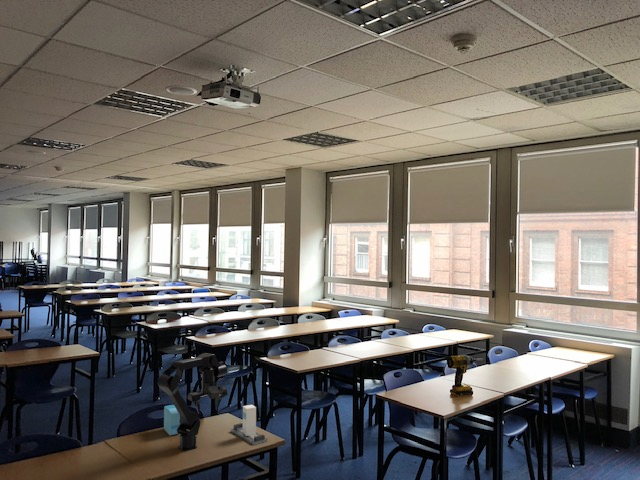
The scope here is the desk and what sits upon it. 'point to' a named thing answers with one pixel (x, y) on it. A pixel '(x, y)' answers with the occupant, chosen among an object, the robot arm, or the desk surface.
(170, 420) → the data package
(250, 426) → the block
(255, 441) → the mounting plate
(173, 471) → the desk surface
